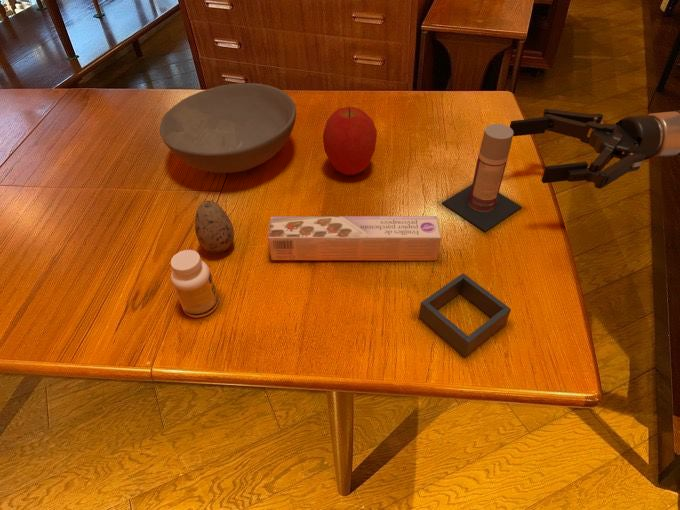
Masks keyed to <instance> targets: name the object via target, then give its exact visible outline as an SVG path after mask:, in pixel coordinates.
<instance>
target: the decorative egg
mask: <svg viewBox="0 0 680 510" xmlns="http://www.w3.org/2000/svg"><path fill="white" fill-rule="evenodd" d="M194 231H195V236H196V240H197V241H198V243H199V245H200V246H201V247H202V248H203V249H205V250H206V251H208V252H210V253H212V254H213V253H214V254H220V253H223V252H225V251H227V250H228V249H229V248H230V247H231V245H233V244H232V243H233V242H234V237H235V229H234V227H233V224H232V221H231V219H230V217H229V216H228V214H227V213H226V211H225V210H224V209H223V208H222V207H221V206H220V204H218V203H217V202H215V201H213V200H204V201H202V202H201V203H200V204H199V205H198V207H197V210H196V212H195V219H194Z"/></svg>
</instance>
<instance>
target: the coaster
mask: <svg viewBox="0 0 680 510" xmlns="http://www.w3.org/2000/svg"><path fill="white" fill-rule="evenodd" d="M471 188H472V184H471V185H469V186H467V187H466V188H464V189H462V190H460V191H459V192H457V193H454V194H453V195H452V196H450V197H449V198H447V199H446V200H444V201H442V202H441V205H442V206H444V207H446V208H447V209H448V210H450V211H451V212H453V213H455V214H456V215H457V216H459V217H461V218H462V219H464V220H465V221H466V222H468V223H469V224H471V225H473V227H476V228H477V229H479V230H480V231H482V232H483V233H486V232H488V231H490V230H492V228H494V227H496V226H497V225H498V224H500V223H502V222H503V221H504V220H506V219H508V218H510V217H511V216H512V215H514V214H515V213H517V212H518V211H520V210H521V209H522V208H523V206H522V205H520V204H519V203H517V202H515V201H514V200H512V199H510V198H508V197H507V196H505V195H503V194H502V193H500V192H499V193H498V197H497V201H496V205H495V208H494V209H493V210H492V211H490V212H485V213H483V212H477V211H475V210H473V209H472V208H471V207H470V206H469V198H470V193H471Z"/></svg>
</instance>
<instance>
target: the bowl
mask: <svg viewBox="0 0 680 510" xmlns="http://www.w3.org/2000/svg"><path fill="white" fill-rule="evenodd" d="M296 119H297V106H296V103H295V102H294V99H293V98H292V97H291V96H290V95H289V94H288V93H286V92H285V91H284V90H282V89H279V88H277V87H275V86H272V85H268V84H264V83H256V82H255V83H254V82H242V83H241V82H239V83H229V84H224V85H218V86H214V87H211V88H210V87H209V88H207V89H204V90H201V91H198V92H196V93H194V94H191V95H189V96H187V97H185V98H183V99H181V100H180V101H179V102H178V103H176V104H175V105H173V106H172V107H171V108H170V109H169V110H167V112H166V113H165V114H164V115H163V116H162V118H161V122H160V125H159V135H160V137H161V139H162V141H163V143H164V144H165V146H166V147H168V149H169V150H170V151H171V152H172V153H173V154H174V155H175V156H176V157H177V158H178V159H180V160H181V161H183V162H184V163H186V164H187V165H188V166H190V167H193V168H196V169H198V170H201V171H205V172H210V173H216V174H233V173H235V174H236V173H241V172H245V171H248V170H251V169H253V168H255V167H258V166H260V165H263V164H264V163H265V162H267V161H269V160H270V159H272V158H273V157H274V156H276V154H277V153H278V152H280V150H282V148H283V147H284V146H285V145H286V144H287V142H288V140H289V138H290V136H291V134H292V132H293V130H294V127H295V124H296Z"/></svg>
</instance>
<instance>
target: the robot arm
mask: <svg viewBox="0 0 680 510" xmlns="http://www.w3.org/2000/svg"><path fill="white" fill-rule="evenodd" d="M603 118H604V114H602V113H585V112H576V111H569V110H562V109H554V108H544V110H543V113H542V116H540V117H531V118H530V117H529V118H526V119H517V120H510V124H509V127H510V128H511V129H512V130H513V132H514V134H513V137H521V136H530V135H540V134H545V132H546V131H547V132H552V133H556V134H560V135H564V136H568V137H571V138H575V139H579V140H580V142H581V143H584V144H587V145H589V146H590V147H591V148H593V149H594V152H595V153H596V154H598V155H597V157H596V158H595V159H594V160H593V161H591V162H590V165H589V163H588V162H587V161H583V162H581V161H579V162H572V163H571V162H570V163H563V164H554V165H546V166H545V168H544V171H543V173H542V177H541V180H540V181H541V183H542V184H550V183H557V182H570V183H573V182H574V183H575V182H581V181H582V182H583V181H585V182H588V183H593V184H594V185H593V186H594V187H595V189H599V190H600V189H603V188H605V187H606V186H608V185H609V184H611V183H613V182H614V181H616V180H618V179H619V178H622V176H624V175H626V174H628V173H631V172H635V171H638V170H639V169H640V167H641V166H642V164H643V161H646V160H653V159H654V160H655V159H662V158H670V157H680V110H673V111H663V112H654V113H653V112H652V113H648V114H638V115H629V116H624V117H622V118H621V119H620V120H618V121H617V122H615V123H607V122H606V123H605V122H604V121H603ZM589 132H590V135H588V134H589ZM614 158H616V159H619V160H618V161H616V162H614V163H613V164H611V165H609V163H610V162H611V161H612V160H613V159H614ZM607 165H609V166H608V167H606V166H607ZM605 167H606V168H605Z"/></svg>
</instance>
